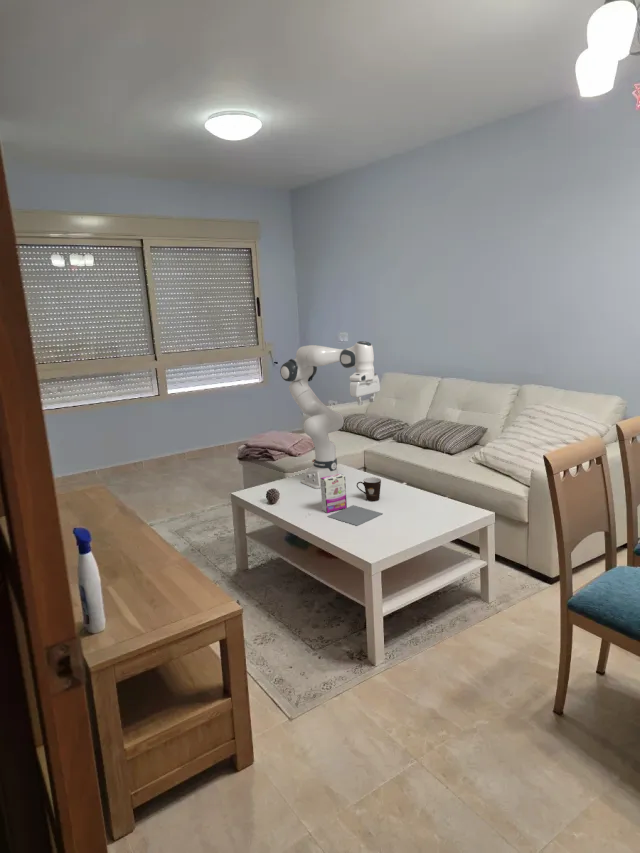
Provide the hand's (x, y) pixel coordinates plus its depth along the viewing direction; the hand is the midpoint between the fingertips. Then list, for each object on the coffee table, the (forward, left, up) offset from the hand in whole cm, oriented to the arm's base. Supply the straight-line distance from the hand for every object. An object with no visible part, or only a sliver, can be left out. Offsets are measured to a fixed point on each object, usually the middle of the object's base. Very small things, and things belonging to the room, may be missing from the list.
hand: (365, 403), depth 277 cm
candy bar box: (0, -25, -48) cm, 54 cm away
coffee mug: (+4, -3, -48) cm, 48 cm away
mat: (+13, -25, -47) cm, 55 cm away
